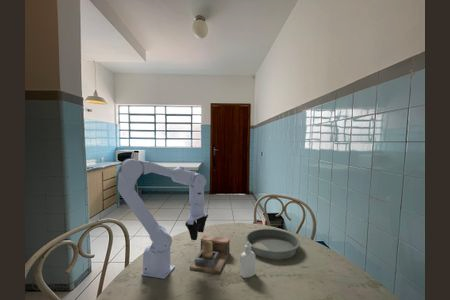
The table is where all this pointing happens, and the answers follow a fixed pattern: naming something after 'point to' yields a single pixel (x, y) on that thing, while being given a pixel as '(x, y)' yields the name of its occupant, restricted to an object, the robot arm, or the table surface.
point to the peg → (207, 250)
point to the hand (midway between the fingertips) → (197, 235)
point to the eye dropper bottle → (247, 262)
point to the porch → (213, 255)
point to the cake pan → (273, 243)
